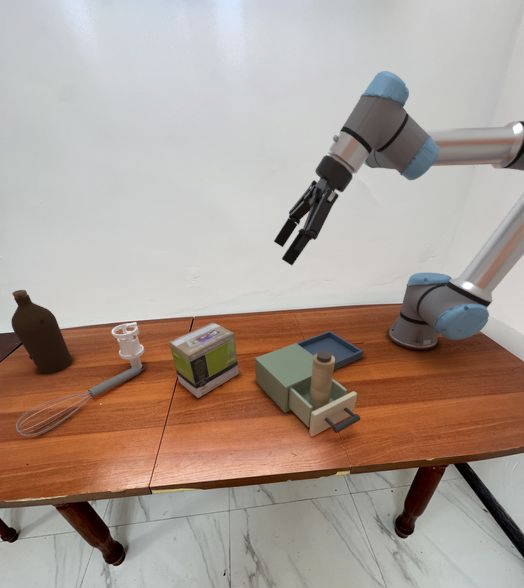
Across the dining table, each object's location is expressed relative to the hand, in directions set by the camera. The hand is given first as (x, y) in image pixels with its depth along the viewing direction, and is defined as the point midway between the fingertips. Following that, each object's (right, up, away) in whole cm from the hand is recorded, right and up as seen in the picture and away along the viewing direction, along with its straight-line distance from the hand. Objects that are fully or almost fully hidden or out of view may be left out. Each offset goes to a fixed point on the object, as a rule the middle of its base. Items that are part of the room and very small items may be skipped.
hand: (282, 252), depth 71 cm
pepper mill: (+9, -38, +3) cm, 39 cm away
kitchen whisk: (-52, -38, +10) cm, 65 cm away
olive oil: (-72, -28, +24) cm, 81 cm away
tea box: (-21, -32, +16) cm, 42 cm away
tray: (+16, -25, +25) cm, 39 cm away
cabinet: (+3, -34, +12) cm, 36 cm away
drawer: (+10, -39, +3) cm, 41 cm away
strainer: (-44, -29, +22) cm, 58 cm away
